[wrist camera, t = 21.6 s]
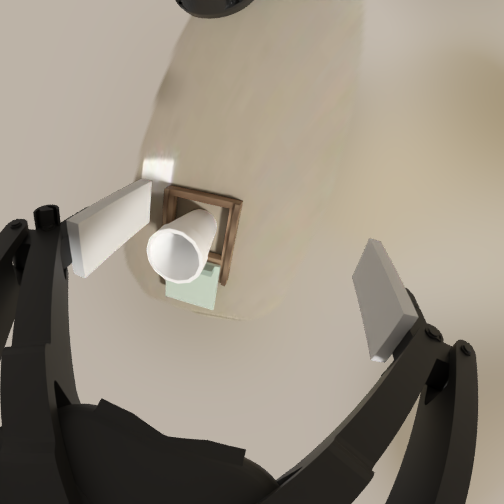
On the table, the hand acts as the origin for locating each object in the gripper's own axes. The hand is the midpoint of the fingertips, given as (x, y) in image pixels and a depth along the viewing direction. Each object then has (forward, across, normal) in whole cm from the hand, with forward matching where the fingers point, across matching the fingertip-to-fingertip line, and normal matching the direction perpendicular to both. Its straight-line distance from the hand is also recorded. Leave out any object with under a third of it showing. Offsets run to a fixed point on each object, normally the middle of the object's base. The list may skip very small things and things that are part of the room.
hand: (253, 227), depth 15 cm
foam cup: (+31, -12, -16) cm, 37 cm away
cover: (+29, -12, -28) cm, 42 cm away
